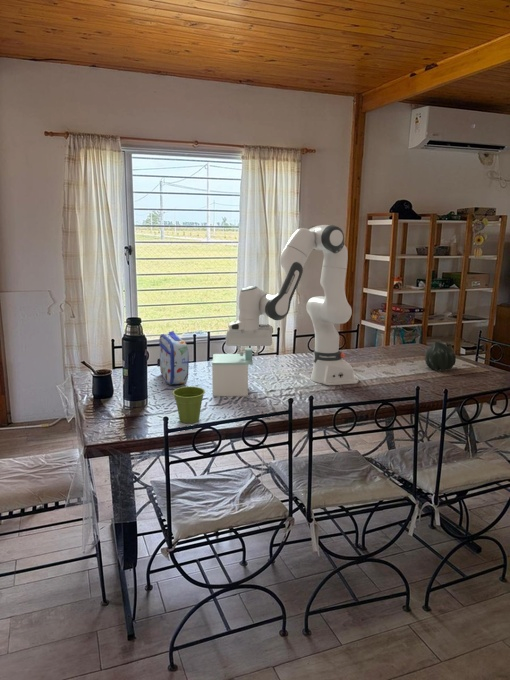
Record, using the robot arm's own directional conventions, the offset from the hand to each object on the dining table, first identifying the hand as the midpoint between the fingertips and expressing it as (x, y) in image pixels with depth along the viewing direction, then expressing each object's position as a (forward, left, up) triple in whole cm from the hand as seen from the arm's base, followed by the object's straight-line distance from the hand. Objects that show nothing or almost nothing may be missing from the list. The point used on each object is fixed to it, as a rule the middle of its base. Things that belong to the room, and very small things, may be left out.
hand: (248, 355), depth 218 cm
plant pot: (+23, +34, -16) cm, 44 cm away
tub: (+8, 0, -16) cm, 18 cm away
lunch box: (+35, -17, -16) cm, 42 cm away
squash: (-99, -33, -16) cm, 106 cm away
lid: (+8, 0, -2) cm, 8 cm away
